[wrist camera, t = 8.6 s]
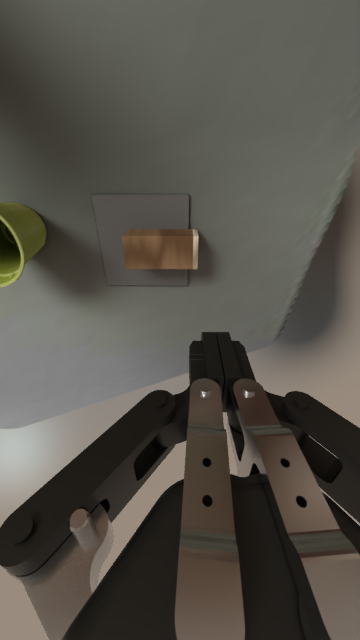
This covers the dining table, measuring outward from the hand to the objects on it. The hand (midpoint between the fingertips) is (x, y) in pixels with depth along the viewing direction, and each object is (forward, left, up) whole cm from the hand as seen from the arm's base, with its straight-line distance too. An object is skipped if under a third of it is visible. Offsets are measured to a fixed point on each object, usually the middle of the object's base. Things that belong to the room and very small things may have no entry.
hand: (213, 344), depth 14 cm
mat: (0, -7, -22) cm, 23 cm away
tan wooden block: (0, 0, -20) cm, 20 cm away
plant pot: (-2, -23, -23) cm, 32 cm away
